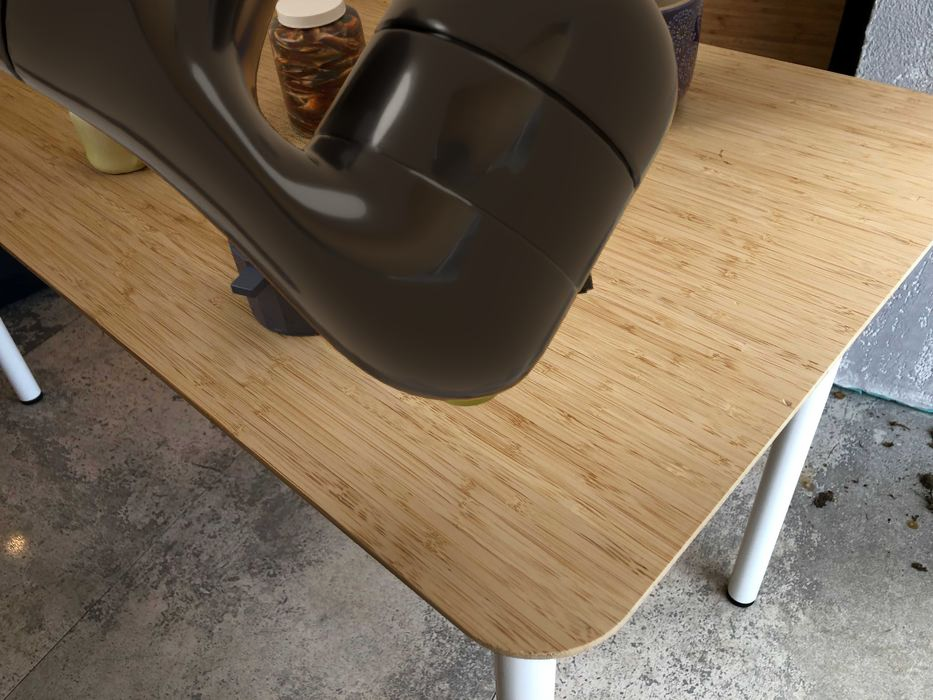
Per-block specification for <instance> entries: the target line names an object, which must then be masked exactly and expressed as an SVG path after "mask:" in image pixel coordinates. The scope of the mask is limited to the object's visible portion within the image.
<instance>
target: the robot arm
mask: <svg viewBox="0 0 933 700" xmlns="http://www.w3.org/2000/svg"><path fill="white" fill-rule="evenodd" d="M278 1H279V0H0V70H1V71H3V72H5V73H6V74H8V75H9V76H11V77H12V78H15V79H16V80H18V81H20V82H22V83H24V84H26V85H27V86H28V87H30V88H32V89H33V90H35V91H36V92H37V93H40V94H42V95H43V96H44V97H47V98H48V99H50V100H52V101H54V102H55V103H56V104H58V105H60V106H61V107H63V108H65V110H67V111H68V112H69V111H70V112H72V113H73V114H75V115H76V116H78V117H80V118H81V119H83V120H84V121H86V122H87V123H89V124H90V125H92V126H93V127H95V128H96V129H98V130H99V131H101V132H102V133H104V134H105V135H107V136H108V137H109V138H111V139H112V140H113V141H115V142H116V143H117V144H119V145H120V146H121V147H123V148H124V149H125V150H127V151H128V152H129V153H131V154H132V155H133V156H135V157H136V158H137V159H139V160H140V161H141V162H143V163H144V164H145V165H146V166H147V168H149V169H150V170H151V171H152V172H153V173H154V174H156V175H157V176H158V177H160V178H161V180H163V181H164V182H165V183H167V185H169V186H170V187H171V188H172V189H173V190H175V191H176V192H177V193H178V194H180V195H181V196H182V197H183V198H184V199H185V201H187V202H188V203H189V204H190V205H191V206H192V207H193V208H194V209H196V210H197V211H198V212H199V213H200V214H201V216H203V217H204V218H205V219H206V220H207V221H208V222H209V223H210V224H211V225H213V226H214V228H216V229H217V230H218V231H219V232H220V233H221V234H222V235H223V236H224V237H225V238H226V239H227V238H228V239H227V241H228V240H229V241H230V242H231V243H232V244H233V245H234V246H235V247H236V248H237V249H238V250H239V251H240V252H241V253H242V254H243V255H244V256H245V257H246V258H247V259H248V260H249V261H250V263H251V264H252V265H253V266H254V267H255V268H256V269H257V270H258V271H259V272H260V273H261V274H262V275H263V276H264V277H265V278H266V279H267V280H268V281H269V282H270V284H271V285H272V286H273V287H274V288H275V289H276V290H277V291H278V292H279V293H280V294H281V295H282V296H283V297H284V298H285V299H286V300H287V301H288V302H289V303H290V304H291V305H292V306H293V308H294V309H295V310H296V311H297V312H298V313H299V314H300V315H301V316H302V317H303V318H304V319H305V320H306V321H307V322H308V323H309V324H310V325H311V326H312V327H313V328H314V329H315V330H316V331H317V332H318V333H319V334H318V335H320V336H321V337H322V338H323V339H324V340H326V342H327V343H329V344H330V345H331V346H332V348H334V349H335V350H336V351H337V352H338V353H339V354H341V356H343V357H344V358H345V359H347V360H348V361H349V362H350V363H351V364H353V365H354V366H356V367H357V368H358V369H360V370H361V371H363V373H365V374H367V375H368V376H369V377H372V378H373V379H375V380H377V381H378V382H379V383H381V384H383V385H386V386H388V387H390V388H392V389H394V390H396V391H399V392H401V393H404V394H407V395H410V396H414V397H418V398H422V399H426V400H432V401H440V402H444V401H470V400H476V399H481V398H487V397H492V396H495V395H497V394H498V395H500V394H503V393H505V392H507V391H509V390H511V389H513V388H515V386H517V385H519V384H521V382H522V381H523V380H525V379H526V378H527V377H528V376H529V374H530V373H531V372H532V371H533V369H534V368H535V367H536V366H537V364H538V363H539V362H540V361H541V359H542V358H544V355H545V353H546V351H547V350H548V348H549V347H550V345H551V343H552V342H553V340H554V338H555V336H557V335H556V334H557V333H558V331H559V329H560V328H561V326H562V324H563V322H564V320H565V319H566V317H567V315H568V314H569V311H570V310H571V308H572V307H573V304H574V303H575V301H576V299H577V297H578V295H583V294H587V293H588V292H589V291H592V290H594V282H593V275H592V274H593V273H592V271H593V269H594V267H595V265H596V264H597V262H598V260H599V258H600V256H601V255H602V253H603V251H604V249H605V247H606V246H607V244H608V242H609V240H610V238H611V237H612V235H613V233H614V231H615V229H616V228H617V226H618V224H619V223H620V220H621V219H622V217H623V216H624V213H625V212H626V210H627V209H628V206H629V205H630V202H631V201H632V199H633V197H634V196H635V194H636V193H637V191H638V190H639V188H640V187H641V185H642V183H643V181H644V179H645V177H646V176H647V174H648V172H649V171H650V169H651V167H652V165H653V164H654V162H655V160H656V158H657V156H658V155H659V153H660V151H661V149H662V147H663V144H665V141H666V138H667V136H668V133H669V131H670V129H671V127H672V124H673V120H674V117H675V113H676V110H677V105H678V104H677V97H678V66H677V59H676V53H675V49H674V45H673V41H672V38H671V35H670V32H669V29H668V26H667V24H666V22H665V20H664V18H663V15H662V13H661V11H660V9H659V8H658V6H657V4H656V2H655V0H391V2H390V3H389V5H388V6H387V9H386V10H385V12H384V14H383V15H382V16H381V18H380V20H379V22H378V24H377V25H376V27H375V29H374V31H373V34H372V35H371V37H370V38H369V40H368V41H367V43H366V47H365V48H364V50H363V52H362V53H361V55H360V57H359V58H358V60H357V62H356V64H355V65H354V67H353V69H352V70H351V72H350V74H349V75H348V77H347V79H346V80H345V82H344V84H343V85H342V87H341V89H340V90H339V92H338V94H337V96H336V97H335V99H334V101H333V102H332V104H331V106H330V107H329V109H328V111H327V112H326V114H325V116H324V117H323V119H322V121H321V122H320V124H319V126H318V128H317V129H316V131H315V133H314V136H313V137H312V138H311V139H309V140H308V142H307V144H305V146H304V147H302V148H301V147H300V148H299V147H298V146H296V145H295V144H294V143H292V142H291V141H290V140H289V139H287V138H286V137H285V136H283V135H282V134H281V133H280V132H279V131H278V130H277V129H276V128H275V127H274V125H273V124H271V123H270V122H269V120H268V119H267V117H266V116H265V114H264V113H263V111H262V109H261V107H260V103H259V98H258V86H257V83H258V71H259V66H260V61H261V57H262V56H261V55H262V52H263V48H264V45H265V40H266V38H267V34H268V32H269V31H268V29H269V25H270V22H271V21H272V20H273V16H274V13H275V11H276V4H277V3H278ZM676 104H677V105H676ZM146 166H145V167H146ZM498 395H497V396H498ZM495 397H496V396H495Z"/></svg>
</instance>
